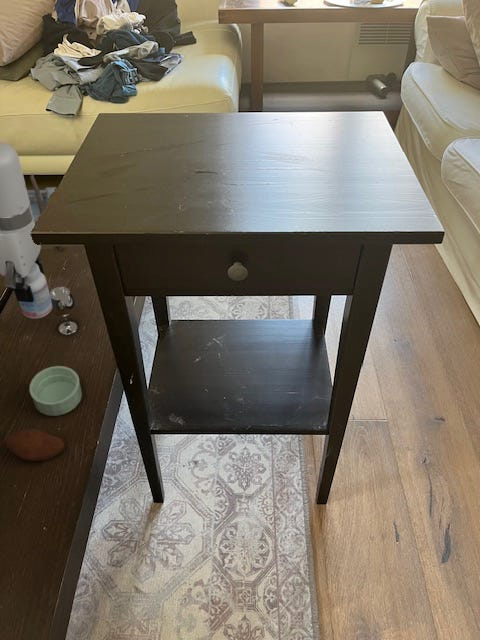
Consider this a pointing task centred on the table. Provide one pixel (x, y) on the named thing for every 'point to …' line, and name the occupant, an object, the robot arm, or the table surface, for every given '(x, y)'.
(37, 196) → the natural artifact
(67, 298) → the wineglass
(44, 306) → the pill bottle
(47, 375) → the dish
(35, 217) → the toy train
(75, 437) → the table surface
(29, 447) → the potato
